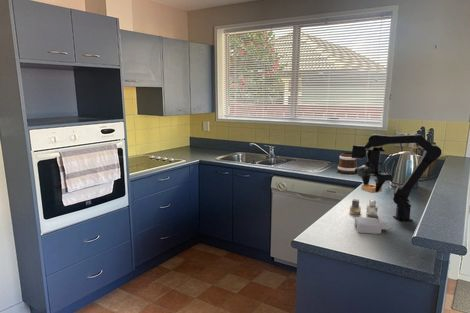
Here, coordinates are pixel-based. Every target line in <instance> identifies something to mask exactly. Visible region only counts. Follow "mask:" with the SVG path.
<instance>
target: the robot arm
mask: <svg viewBox="0 0 470 313" xmlns="http://www.w3.org/2000/svg"><path fill="white" fill-rule="evenodd" d="M392 144H394V145H396V144H398V145H399V144H417V145H419V147H421V148H422V149H423V150H424V151H423V153H422V156H421V159H420V161H419V162H418V163H417V165H416V167H415V168H414V169H413V171H411V173H410V175H409V176H408V178H407V179H406V180H405V182H404V183H403V184H402V185H401V186H400V185H398V184H397V185H396V188H395V190H393V191H392V200H393V203H395V204H396V208H395V215H393V216H392V218H394V219H395V220H397V221H399V222H412V221H414V220H413V219H412V218H411V207H412V204H411V201H410V199H409V197H410V194H411V191H412V190H413V189H414V186H415V185H416V184H417V182H418V181H419V180H420V178H421V177H422V176H423V175H424V173H425V172H426V170H427V169H428V168H429V166H431V165H432V164H433V163H435V162H436V161H437V160H438V159H439V158H440V157H441V155H442V149H441V147H440V146H439V145H437V144H433V143H431V142H429V141H428V139H426V138H425V137H424V136H423V135H422V134H420V133H417V134H405V135H404V134H399V135H397V134H396V135H388V134H387V135H386V134H381V133H373V134H371V135H369V138H368V141H367V142H366V143H365V144H364V145H359V144H353V145H352V149H351V150H352V151H351V153H352V155H351V157H352V158H354V159H356V160H364V159H365V158H367V159H366V160H367V161H365V162H364V164H363V165H361V166H359V167H357V168H356V169H355V174H356V175H358V177H360V178H361V180H362V183H363V184H362V185H367V184H370V179H371V176H373V177H375V179H373V180H374V182H375V185H376V193H379V192H378V191H379V190H380V188H381V187H382V188H383V185H384V184H385V183H386V182H388V181H392V180H393V175H392V174H391V173H388V172H382V170H381V169H380V165H382V161H381V152H385V151H386V149H385V148H384V147H383V146H386V145H392Z"/></svg>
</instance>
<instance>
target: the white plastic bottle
mask: <svg viewBox="0 0 470 313" xmlns="http://www.w3.org/2000/svg"><path fill="white" fill-rule="evenodd" d="M353 224H354V227H356V228H355V230H356V229H357V230H356V232H357V231H358V232H357V233H358V234H370V235H371V234H374V235H380V234H381V233H382V230H386V231H388V230H389V228H390V229H391V228H392V229H393V226H392V225H391V224H387V223H386V222H380V220H379V219H377V218H376V217H362V216H361V217H359V216H354V223H353Z"/></svg>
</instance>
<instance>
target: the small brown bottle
mask: <svg viewBox="0 0 470 313" xmlns="http://www.w3.org/2000/svg"><path fill="white" fill-rule="evenodd" d="M351 202H352V203H351V204H350V206H349V214H351V215H354V214H355V215H354V216H357V215H358V216H359V215H361V213H362V212H361V209H362V207H361V206H360V199H355V198H353V199H352V200H351Z"/></svg>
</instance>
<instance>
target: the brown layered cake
mask: <svg viewBox="0 0 470 313" xmlns="http://www.w3.org/2000/svg"><path fill="white" fill-rule="evenodd" d="M351 155H352V152H341V153H340V155H339V162H338V165H337V172H338V173H340V174H344V175H345V174H346V175H352V174H354V175H355V174H356V173H355V169H356V168H358V166H357V165H358V164H357V159H354V158H352V157H351Z"/></svg>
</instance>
